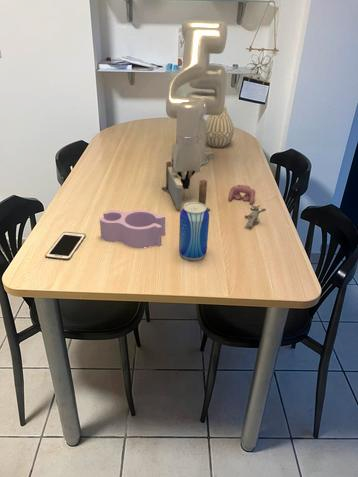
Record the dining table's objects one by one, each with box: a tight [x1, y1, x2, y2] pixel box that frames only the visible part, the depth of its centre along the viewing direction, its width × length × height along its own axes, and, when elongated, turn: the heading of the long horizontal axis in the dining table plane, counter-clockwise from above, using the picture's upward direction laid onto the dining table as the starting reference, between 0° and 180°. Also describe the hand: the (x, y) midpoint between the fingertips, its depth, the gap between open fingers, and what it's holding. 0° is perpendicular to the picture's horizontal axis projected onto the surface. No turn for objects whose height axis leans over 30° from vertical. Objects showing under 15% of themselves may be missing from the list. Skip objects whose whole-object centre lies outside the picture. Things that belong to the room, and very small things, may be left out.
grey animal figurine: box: [244, 204, 267, 229], centre depth 135 cm, size 10×6×9 cm
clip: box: [99, 209, 166, 249], centre depth 126 cm, size 20×12×7 cm, turn 81°
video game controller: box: [227, 184, 256, 206], centre depth 151 cm, size 10×5×7 cm, turn 72°
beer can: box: [178, 201, 210, 261], centre depth 115 cm, size 8×8×16 cm
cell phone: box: [44, 231, 87, 261], centre depth 122 cm, size 8×15×1 cm, turn 172°
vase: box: [205, 105, 235, 148], centre depth 202 cm, size 16×16×20 cm
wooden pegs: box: [161, 161, 211, 213], centre depth 148 cm, size 25×4×12 cm, turn 35°
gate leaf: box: [168, 167, 184, 210], centre depth 147 cm, size 17×2×9 cm, turn 12°
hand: (185, 187), depth 147 cm, fingers closed
